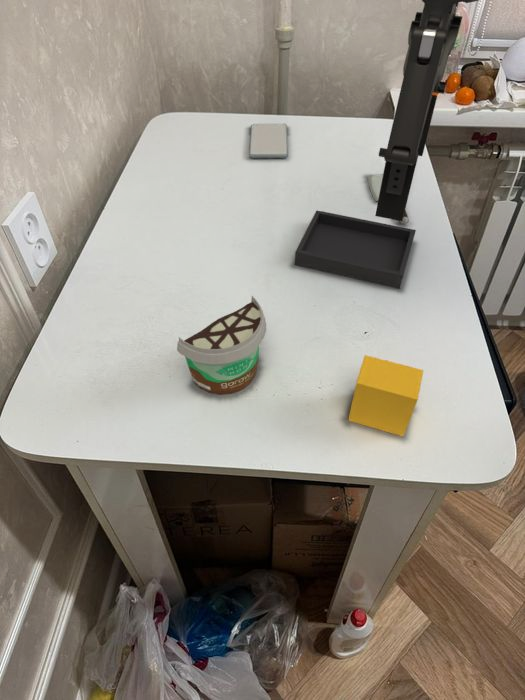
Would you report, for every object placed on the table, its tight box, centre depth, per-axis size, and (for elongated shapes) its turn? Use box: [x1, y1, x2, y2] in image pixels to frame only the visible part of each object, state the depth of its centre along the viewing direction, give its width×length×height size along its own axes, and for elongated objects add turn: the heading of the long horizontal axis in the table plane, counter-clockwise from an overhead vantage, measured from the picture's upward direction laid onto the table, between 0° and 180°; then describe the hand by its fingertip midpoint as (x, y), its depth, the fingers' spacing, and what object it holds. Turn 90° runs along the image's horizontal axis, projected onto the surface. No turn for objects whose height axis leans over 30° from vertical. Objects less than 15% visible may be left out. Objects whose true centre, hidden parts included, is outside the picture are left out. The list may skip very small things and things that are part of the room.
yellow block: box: [347, 354, 424, 437], centre depth 61 cm, size 7×4×8 cm, turn 70°
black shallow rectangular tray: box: [294, 210, 417, 290], centre depth 84 cm, size 18×13×3 cm
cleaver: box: [367, 173, 409, 225], centre depth 96 cm, size 17×1×5 cm
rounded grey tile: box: [248, 123, 289, 159], centre depth 111 cm, size 8×1×15 cm
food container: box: [176, 295, 267, 396], centre depth 64 cm, size 12×6×10 cm, turn 129°
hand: (400, 182), depth 54 cm, fingers open, 13 cm apart
